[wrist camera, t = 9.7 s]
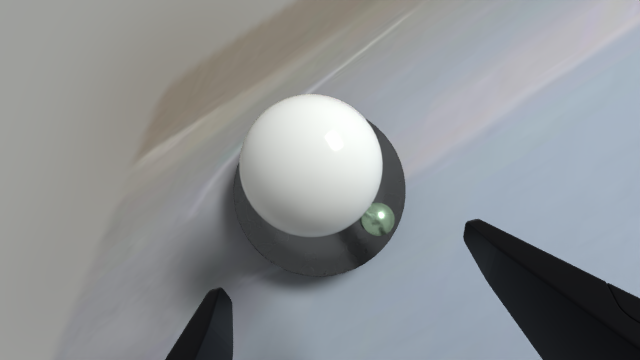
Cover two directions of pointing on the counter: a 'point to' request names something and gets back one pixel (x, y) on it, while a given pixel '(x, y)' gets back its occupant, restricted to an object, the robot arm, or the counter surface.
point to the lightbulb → (311, 165)
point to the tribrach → (340, 247)
